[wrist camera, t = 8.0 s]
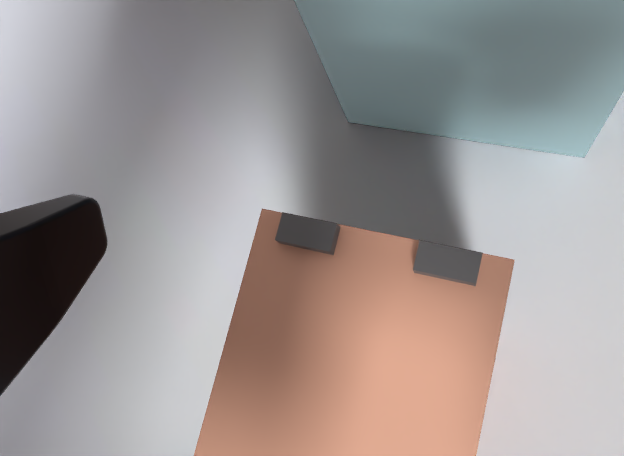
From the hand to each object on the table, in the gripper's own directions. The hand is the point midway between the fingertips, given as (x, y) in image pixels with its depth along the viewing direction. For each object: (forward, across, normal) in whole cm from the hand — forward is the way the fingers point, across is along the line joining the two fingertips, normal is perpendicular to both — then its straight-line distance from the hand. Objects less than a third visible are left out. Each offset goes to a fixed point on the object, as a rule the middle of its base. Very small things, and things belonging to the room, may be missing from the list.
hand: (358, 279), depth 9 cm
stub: (+9, 0, +11) cm, 14 cm away
